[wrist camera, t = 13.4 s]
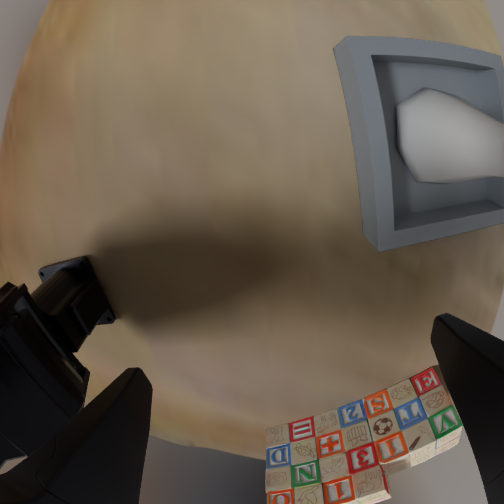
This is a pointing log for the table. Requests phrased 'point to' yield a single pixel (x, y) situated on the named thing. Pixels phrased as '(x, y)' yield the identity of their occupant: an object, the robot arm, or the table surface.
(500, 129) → the light grey vase
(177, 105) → the table surface
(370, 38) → the tray
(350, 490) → the stack of blocks
